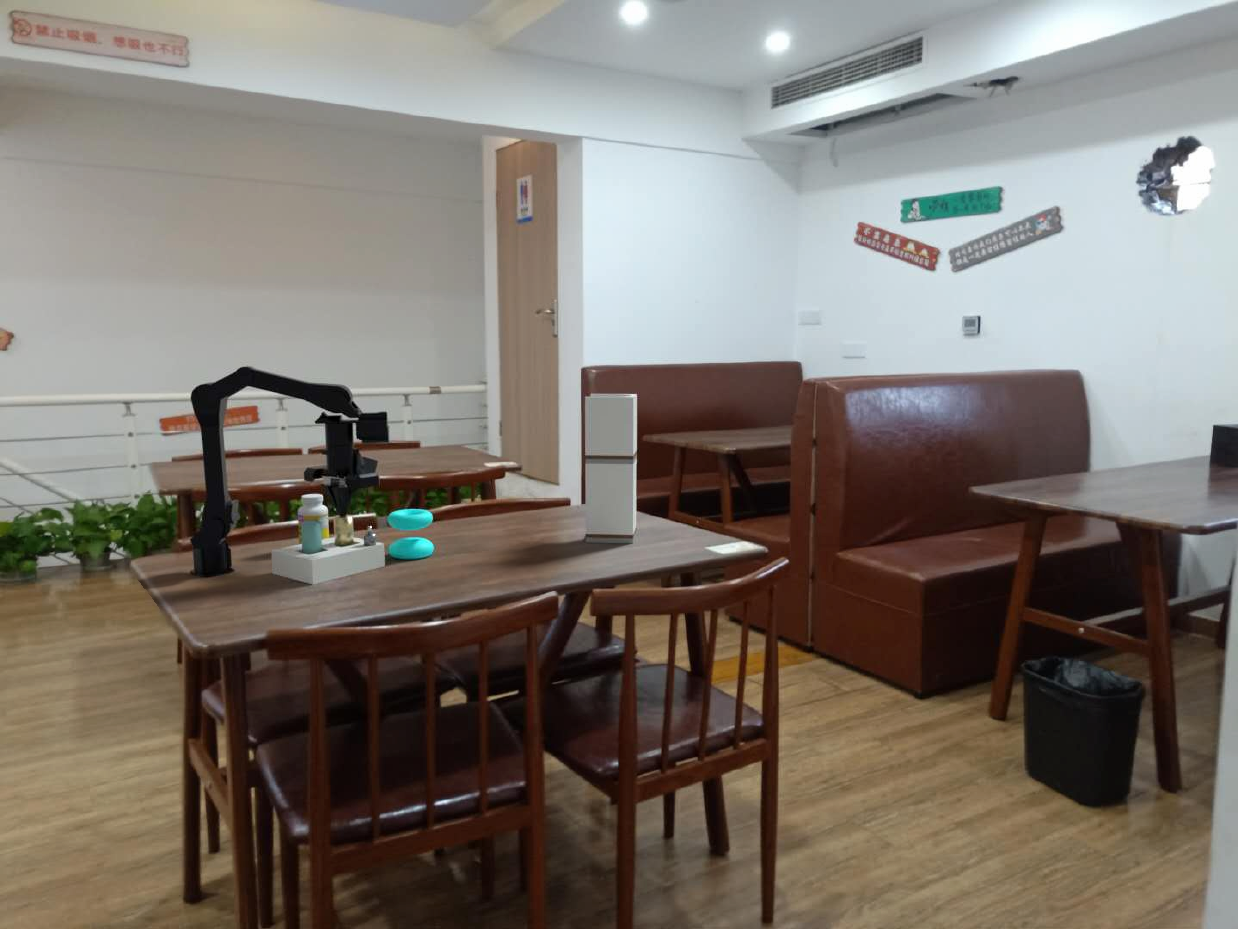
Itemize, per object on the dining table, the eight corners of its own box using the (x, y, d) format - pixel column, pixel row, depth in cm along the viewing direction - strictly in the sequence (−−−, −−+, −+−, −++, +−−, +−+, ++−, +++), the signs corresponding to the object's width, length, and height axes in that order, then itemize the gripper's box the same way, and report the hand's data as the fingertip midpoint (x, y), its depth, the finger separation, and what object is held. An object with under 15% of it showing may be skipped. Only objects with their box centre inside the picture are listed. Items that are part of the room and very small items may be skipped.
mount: (313, 584, 182) (311, 560, 182) (272, 573, 191) (271, 550, 190) (384, 566, 197) (384, 543, 196) (344, 556, 205) (343, 535, 204)
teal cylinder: (310, 558, 187) (308, 525, 186) (298, 555, 189) (296, 522, 188) (326, 554, 190) (325, 522, 189) (315, 552, 193) (313, 519, 192)
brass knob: (342, 551, 193) (341, 519, 192) (331, 548, 196) (329, 516, 195) (358, 547, 197) (356, 516, 196) (346, 545, 199) (345, 513, 198)
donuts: (378, 515, 201) (401, 506, 211) (380, 559, 203) (402, 549, 212) (419, 517, 199) (440, 509, 208) (420, 562, 200) (441, 551, 210)
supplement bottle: (293, 551, 210) (290, 496, 208) (315, 545, 216) (312, 492, 214) (314, 554, 207) (311, 499, 205) (335, 548, 213) (333, 494, 211)
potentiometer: (369, 546, 193) (368, 528, 192) (361, 545, 195) (360, 526, 194) (378, 544, 195) (378, 526, 194) (371, 542, 197) (370, 524, 196)
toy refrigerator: (636, 533, 228) (637, 394, 223) (633, 543, 218) (633, 397, 213) (591, 532, 229) (590, 393, 224) (585, 542, 219) (585, 396, 214)
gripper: (398, 443, 194) (401, 515, 196) (343, 437, 205) (346, 505, 207) (355, 449, 185) (358, 524, 187) (300, 442, 196) (304, 513, 198)
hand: (342, 516), depth 195 cm, fingers closed, pressing on brass knob
